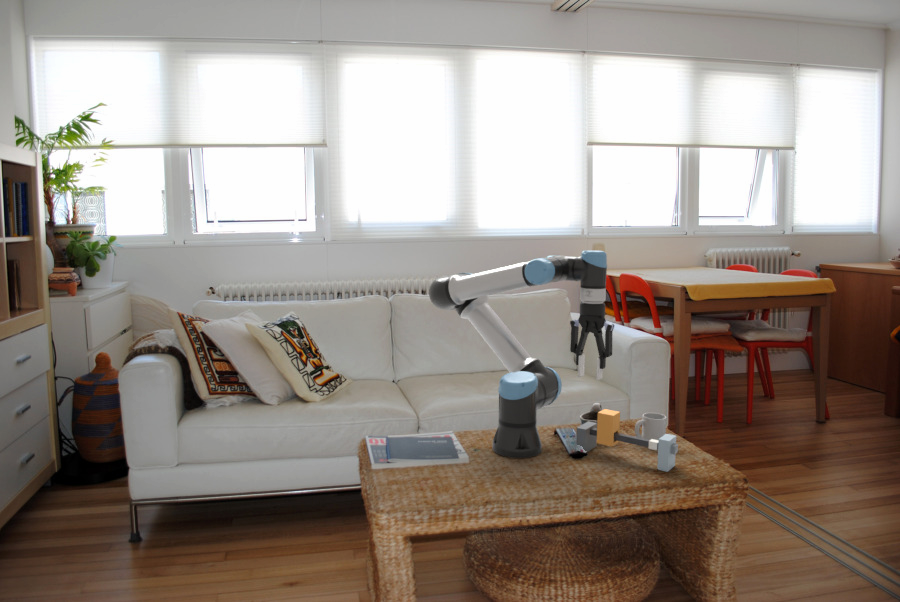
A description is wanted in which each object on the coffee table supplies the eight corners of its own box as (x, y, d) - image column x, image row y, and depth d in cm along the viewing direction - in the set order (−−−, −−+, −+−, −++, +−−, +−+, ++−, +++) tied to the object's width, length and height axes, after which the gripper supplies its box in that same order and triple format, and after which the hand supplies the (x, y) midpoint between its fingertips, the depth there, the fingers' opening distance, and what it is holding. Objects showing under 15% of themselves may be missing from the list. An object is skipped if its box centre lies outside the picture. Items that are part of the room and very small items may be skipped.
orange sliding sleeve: (596, 443, 200) (597, 412, 199) (603, 438, 204) (604, 408, 203) (612, 446, 197) (613, 415, 196) (618, 442, 201) (620, 411, 200)
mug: (579, 441, 213) (580, 410, 211) (578, 428, 225) (579, 400, 223) (610, 443, 211) (611, 412, 210) (607, 430, 223) (608, 401, 222)
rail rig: (575, 451, 203) (576, 422, 202) (587, 444, 210) (588, 416, 208) (670, 474, 186) (672, 443, 185) (680, 465, 192) (681, 435, 191)
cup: (669, 446, 208) (670, 419, 207) (638, 448, 207) (640, 420, 205) (658, 438, 215) (659, 412, 214) (629, 440, 214) (630, 413, 212)
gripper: (559, 300, 202) (557, 375, 205) (616, 305, 191) (613, 384, 194) (570, 298, 208) (568, 370, 211) (626, 303, 197) (623, 379, 200)
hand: (590, 377), depth 202 cm, fingers open, 5 cm apart
